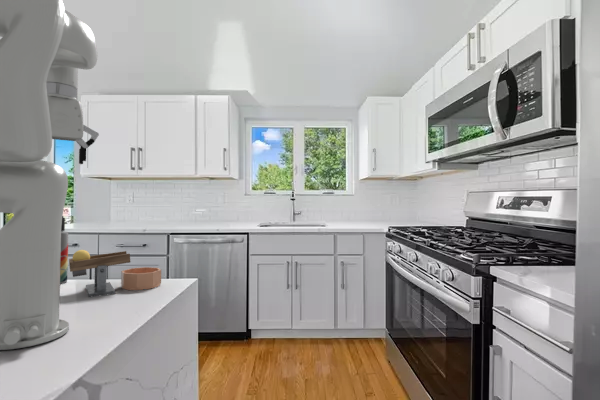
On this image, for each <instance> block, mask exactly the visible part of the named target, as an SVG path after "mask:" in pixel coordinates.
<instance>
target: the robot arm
mask: <svg viewBox="0 0 600 400" xmlns="http://www.w3.org/2000/svg"><path fill="white" fill-rule="evenodd" d="M97 62H98V48H97V43H96V38H95V34H94V33H93V31H92V29H91V28H90V27H89V25H88V24H86V23H85V22H84V21H82V20H81V19H80V18H78V17H77V16H75V15H73V14H72V13H71V12H69V11H68V10H66V9H65V5H64V3H63V0H0V213H4V214H12V215H13V216H12V217H11V218H10V219H9V220H8V221H7V222H5V224H4V225H3V226H2V227H1V228H0V351H6V350H7V351H8V350H9V351H10V350H16V349H24V348H29V347H34V346H37V345H41V344H45V343H47V342H51V341H54V340H56V339H58V338H61V337H62V336H64V335H65V334H66V333H68V331H69V330H70V329H69V328H70V323H69V322H68V321H67V320H65V319H60V301H61V300H60V298H61V297H60V291H61V284H60V257H61V225H62V216H64V208H65V203H66V198H67V194H68V188H69V187H68V186H69V179H68V175H67V172H66V171H65V169H64V168H63V167H61V166H60V165H58V164H56V163H54V162H52V161H48V160H47V161H46V160H44V159H45V158H47V157H49V154H50V153H51V150H52V148H53V147H52V146H53V140H58V141H67V142H69V141H71V142H76V143H77V145H78V146H79V147H80V148H79V150H78V151H79V152H78V164H80V165H83V164H84V162H87V148H89V147H91V145H93V144H94V143H95V142H96V140H97V139H98V137H99V136H100V134H99V132H97V131H95V130H94V129H92V128H90V127H88V126H87V125H85V124H84V116H83V114H84V113H83V106H82V102H81V101H80V100H78V87H79V85H78V84H79V83H78V81H79V79H78V78H79V77H78V75H79V74H78V73H79V69H80V70H92V69H93V68H94V67H95V66H96V65H97ZM84 133H87V134H88V135H90V138H89V139H88V140H87V141H85V140H84V139H83V137H84Z"/></svg>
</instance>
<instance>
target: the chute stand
mask: <svg viewBox="0 0 600 400" xmlns="http://www.w3.org/2000/svg"><path fill="white" fill-rule="evenodd" d="M107 267H108V266H107V265H98V268H94V283H91V284H85V289H86V293H87V297H88V298H92V297H91V296H93V297H100V296H99V295H101V296H108V295H107V294H110V295H115V294H116V289H115V288H114V287H113V285H112V284H111V282H110V281H107Z"/></svg>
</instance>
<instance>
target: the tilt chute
mask: <svg viewBox="0 0 600 400" xmlns="http://www.w3.org/2000/svg"><path fill="white" fill-rule="evenodd" d="M128 263H129V264H130V263H131V254H130V253H128V252H127V250H125V251H117V252H110V253H102V254H94V255H90V259H87V260H80V261H73V257H72V258H68V267H69V271H70V272H71V274H72V277H73V278H75V277H80V276H87V270H89V269H90V270H91V269H95V268H98V265H107V266H106V267H111V266H116V265H122V264H128Z"/></svg>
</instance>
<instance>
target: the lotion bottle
mask: <svg viewBox="0 0 600 400" xmlns="http://www.w3.org/2000/svg"><path fill="white" fill-rule="evenodd" d="M65 229H66V218H65V217H64V215H63V216H62V225H61V257H60V285H62V284H61V283H63V284H66V283H67V282H68V274H69V273H68V272H69V271H68V270H69V269H68V267H69V232H68V231H65ZM65 282H66V283H65Z"/></svg>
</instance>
